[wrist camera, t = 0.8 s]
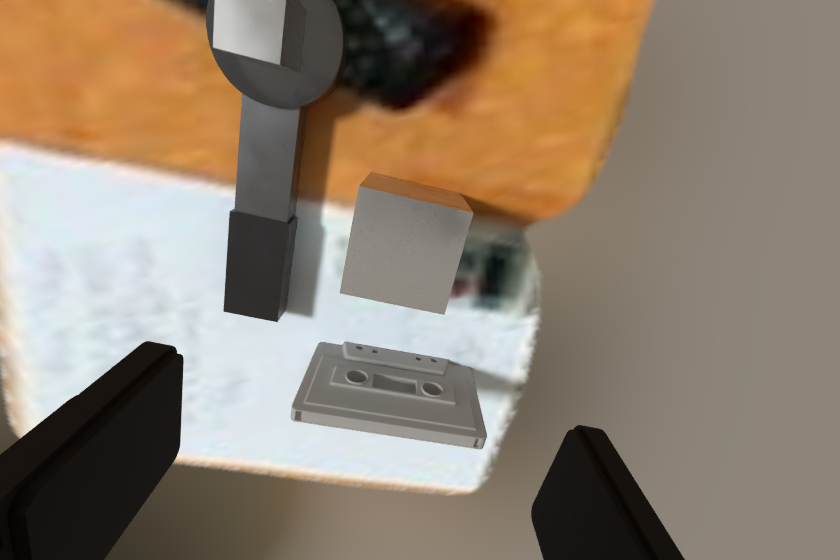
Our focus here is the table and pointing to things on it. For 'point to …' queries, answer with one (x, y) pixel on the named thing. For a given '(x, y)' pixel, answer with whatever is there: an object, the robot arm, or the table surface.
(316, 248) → the table surface
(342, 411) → the cassette
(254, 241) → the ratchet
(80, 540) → the robot arm
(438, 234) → the grey block
